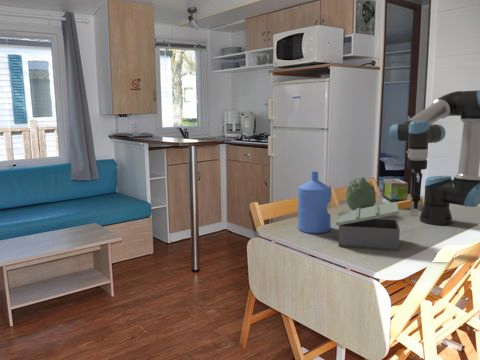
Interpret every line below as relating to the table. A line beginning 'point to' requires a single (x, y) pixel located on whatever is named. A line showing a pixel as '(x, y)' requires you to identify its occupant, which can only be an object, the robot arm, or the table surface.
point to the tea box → (394, 190)
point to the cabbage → (360, 194)
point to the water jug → (314, 206)
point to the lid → (374, 212)
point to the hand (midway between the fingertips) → (414, 214)
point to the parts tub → (370, 234)
